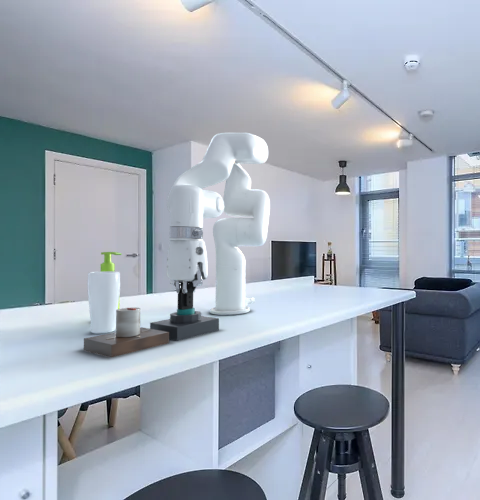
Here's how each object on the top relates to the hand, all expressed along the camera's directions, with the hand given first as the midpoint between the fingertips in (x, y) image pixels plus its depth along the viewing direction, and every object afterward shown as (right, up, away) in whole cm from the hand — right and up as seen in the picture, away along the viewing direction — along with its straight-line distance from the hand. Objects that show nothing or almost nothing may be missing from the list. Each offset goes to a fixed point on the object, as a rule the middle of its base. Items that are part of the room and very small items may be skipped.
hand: (185, 308), depth 87 cm
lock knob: (-6, -4, -12) cm, 14 cm away
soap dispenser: (-29, -6, +14) cm, 33 cm away
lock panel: (-6, -6, -12) cm, 15 cm away
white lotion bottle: (-21, -6, +1) cm, 22 cm away
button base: (0, -6, 0) cm, 6 cm away
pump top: (0, -2, 0) cm, 2 cm away
